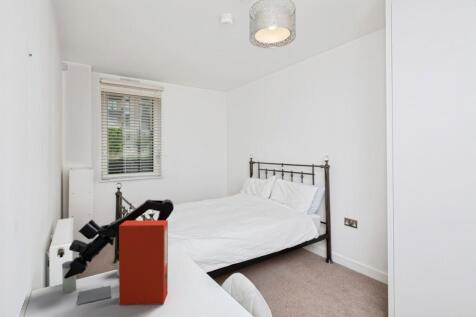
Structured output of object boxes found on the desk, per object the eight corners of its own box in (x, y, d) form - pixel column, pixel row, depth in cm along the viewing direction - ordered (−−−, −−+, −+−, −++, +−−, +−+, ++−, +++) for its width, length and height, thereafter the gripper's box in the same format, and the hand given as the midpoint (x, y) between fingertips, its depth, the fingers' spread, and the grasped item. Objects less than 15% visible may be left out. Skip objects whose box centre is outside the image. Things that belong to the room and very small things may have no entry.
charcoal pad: (110, 286, 116) (110, 285, 116) (111, 297, 107) (111, 296, 107) (79, 293, 110) (79, 291, 110) (77, 305, 101) (77, 304, 101)
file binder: (126, 294, 110) (126, 220, 108) (167, 293, 111) (167, 220, 110) (119, 305, 102) (118, 225, 100) (163, 304, 103) (163, 225, 102)
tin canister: (77, 285, 116) (76, 259, 115) (76, 291, 111) (75, 264, 111) (63, 288, 113) (62, 262, 113) (61, 294, 109) (61, 266, 108)
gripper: (88, 227, 122) (61, 252, 119) (75, 241, 104) (43, 271, 101) (106, 242, 124) (80, 267, 122) (97, 258, 106) (66, 288, 104)
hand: (68, 272), depth 112 cm, fingers open, 9 cm apart
